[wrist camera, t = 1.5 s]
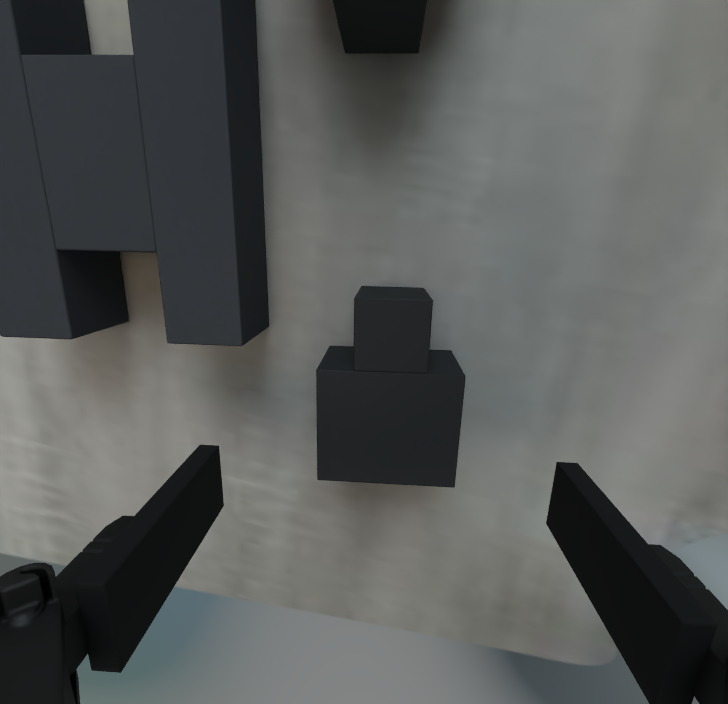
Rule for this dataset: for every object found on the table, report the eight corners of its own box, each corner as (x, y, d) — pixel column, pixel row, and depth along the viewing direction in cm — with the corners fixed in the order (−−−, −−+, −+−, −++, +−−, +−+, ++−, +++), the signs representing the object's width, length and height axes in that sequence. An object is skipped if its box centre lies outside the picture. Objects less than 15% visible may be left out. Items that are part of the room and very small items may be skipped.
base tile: (254, -10, 19) (215, -83, 14) (269, 326, 23) (242, 346, 19) (9, -8, 19) (-98, -77, 15) (69, 319, 24) (-1, 336, 19)
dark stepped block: (456, 288, 22) (473, 300, 17) (443, 444, 24) (454, 487, 20) (329, 284, 22) (315, 295, 18) (329, 438, 25) (317, 480, 20)
